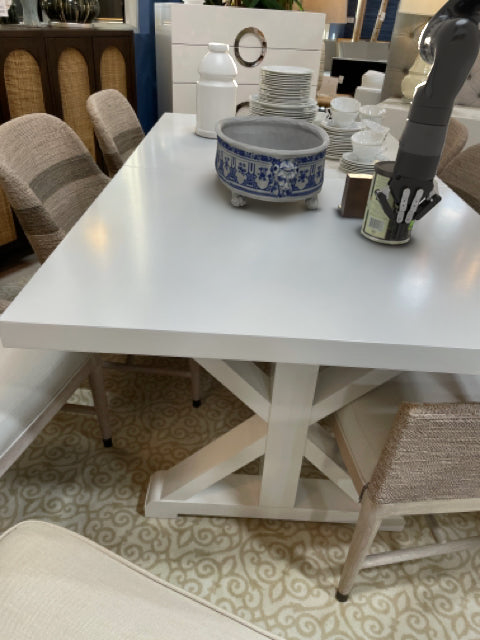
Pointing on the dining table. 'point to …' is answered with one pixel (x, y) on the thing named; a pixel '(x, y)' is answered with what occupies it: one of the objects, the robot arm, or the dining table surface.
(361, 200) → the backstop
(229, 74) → the bottle
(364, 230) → the coffee can
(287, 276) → the dining table surface
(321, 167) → the decorative bowl
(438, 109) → the robot arm
